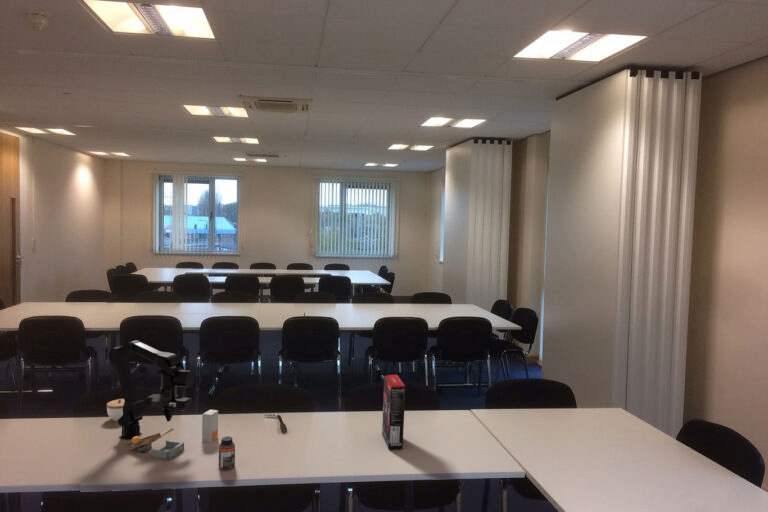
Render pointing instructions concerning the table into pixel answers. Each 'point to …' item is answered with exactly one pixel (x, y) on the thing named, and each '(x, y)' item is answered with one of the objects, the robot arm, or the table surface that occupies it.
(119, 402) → the lidded jar
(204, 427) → the skincare box
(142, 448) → the fulcrum
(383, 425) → the graphics card box
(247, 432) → the table surface
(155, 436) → the lever
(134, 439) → the ball
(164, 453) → the tray
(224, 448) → the supplement bottle
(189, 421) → the table surface
